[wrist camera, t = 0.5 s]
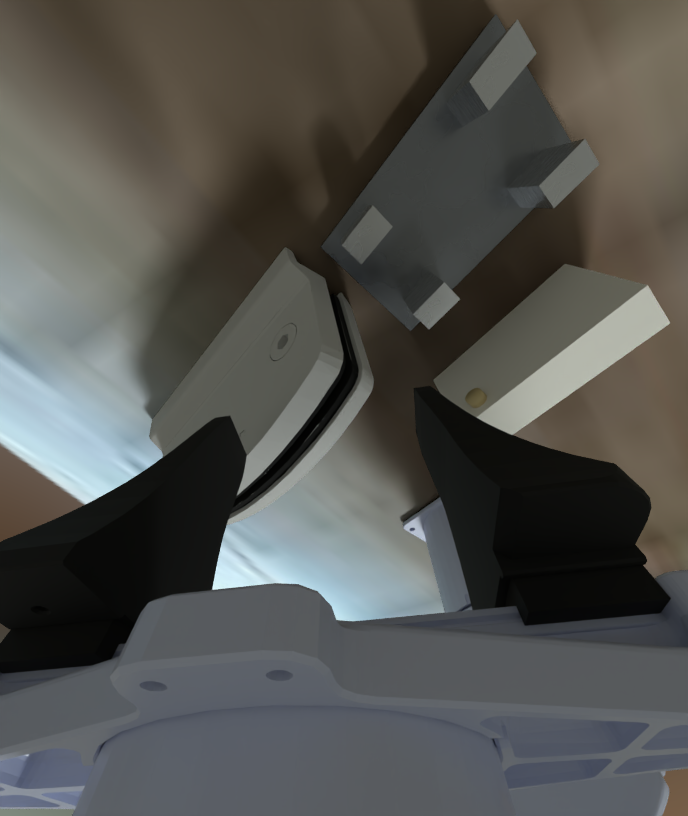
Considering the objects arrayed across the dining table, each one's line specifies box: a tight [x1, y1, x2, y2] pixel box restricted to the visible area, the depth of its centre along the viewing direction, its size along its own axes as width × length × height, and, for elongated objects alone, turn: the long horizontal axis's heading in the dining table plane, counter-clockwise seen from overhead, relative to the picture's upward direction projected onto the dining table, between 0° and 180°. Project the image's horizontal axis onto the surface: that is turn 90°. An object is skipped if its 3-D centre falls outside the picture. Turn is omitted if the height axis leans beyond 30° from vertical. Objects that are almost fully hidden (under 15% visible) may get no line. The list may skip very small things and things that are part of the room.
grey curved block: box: [149, 247, 374, 525], centre depth 19 cm, size 17×5×10 cm, turn 136°
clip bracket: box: [321, 14, 599, 331], centre depth 15 cm, size 7×11×4 cm, turn 139°
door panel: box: [433, 264, 670, 435], centre depth 19 cm, size 3×10×6 cm, turn 139°
